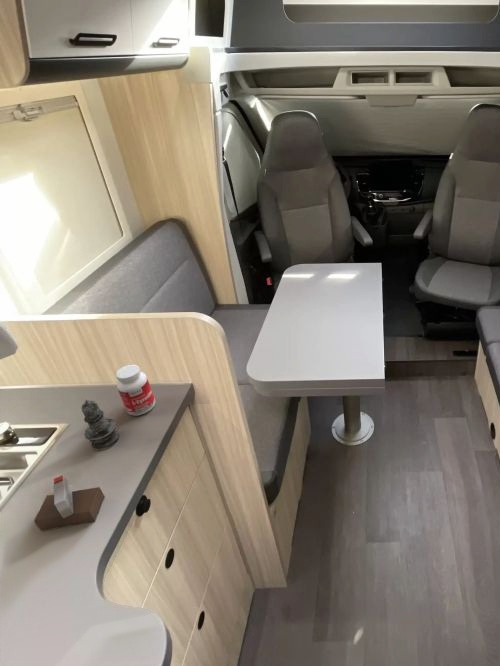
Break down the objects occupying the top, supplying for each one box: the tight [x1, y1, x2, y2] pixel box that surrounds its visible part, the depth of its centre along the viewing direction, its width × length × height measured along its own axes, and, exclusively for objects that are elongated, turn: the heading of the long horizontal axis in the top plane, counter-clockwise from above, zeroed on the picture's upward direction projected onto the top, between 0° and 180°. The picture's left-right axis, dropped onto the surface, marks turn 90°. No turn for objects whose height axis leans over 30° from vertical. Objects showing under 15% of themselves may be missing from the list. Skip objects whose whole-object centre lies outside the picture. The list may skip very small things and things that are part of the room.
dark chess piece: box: [80, 399, 120, 451], centre depth 93 cm, size 6×6×12 cm
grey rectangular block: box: [53, 474, 73, 518], centre depth 79 cm, size 6×2×4 cm, turn 34°
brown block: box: [33, 486, 106, 532], centre depth 81 cm, size 9×5×3 cm, turn 101°
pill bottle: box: [115, 364, 156, 417], centre depth 101 cm, size 6×6×11 cm
